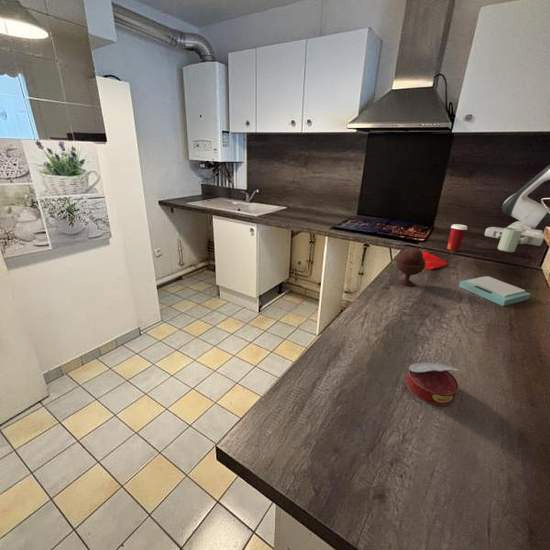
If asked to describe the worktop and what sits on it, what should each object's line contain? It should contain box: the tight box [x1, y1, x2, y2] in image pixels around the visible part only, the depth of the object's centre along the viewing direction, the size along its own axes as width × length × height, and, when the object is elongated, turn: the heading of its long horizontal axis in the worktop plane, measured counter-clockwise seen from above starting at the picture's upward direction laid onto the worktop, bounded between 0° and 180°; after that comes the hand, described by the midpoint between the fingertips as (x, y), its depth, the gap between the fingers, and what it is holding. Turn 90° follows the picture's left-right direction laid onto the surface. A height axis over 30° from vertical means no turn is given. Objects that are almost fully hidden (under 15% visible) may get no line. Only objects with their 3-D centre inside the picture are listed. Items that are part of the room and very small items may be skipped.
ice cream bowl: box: [395, 248, 426, 287], centre depth 115 cm, size 11×11×15 cm
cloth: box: [422, 251, 448, 271], centre depth 142 cm, size 26×14×2 cm, turn 149°
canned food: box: [405, 361, 460, 406], centre depth 64 cm, size 11×10×10 cm
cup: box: [497, 226, 523, 253], centre depth 123 cm, size 6×6×9 cm
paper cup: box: [446, 223, 468, 251], centre depth 158 cm, size 8×8×14 cm
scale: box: [458, 275, 531, 307], centre depth 112 cm, size 17×15×3 cm
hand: (509, 238), depth 122 cm, fingers closed on cup, 6 cm apart
